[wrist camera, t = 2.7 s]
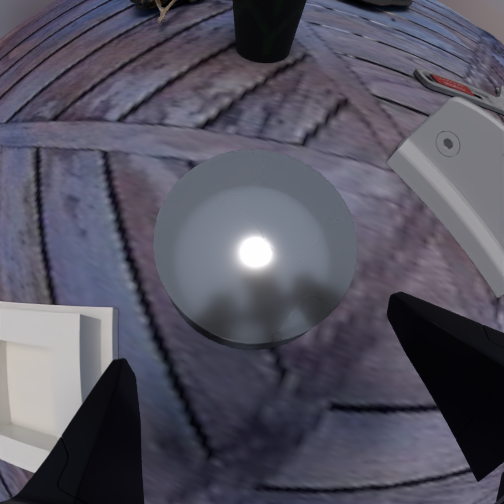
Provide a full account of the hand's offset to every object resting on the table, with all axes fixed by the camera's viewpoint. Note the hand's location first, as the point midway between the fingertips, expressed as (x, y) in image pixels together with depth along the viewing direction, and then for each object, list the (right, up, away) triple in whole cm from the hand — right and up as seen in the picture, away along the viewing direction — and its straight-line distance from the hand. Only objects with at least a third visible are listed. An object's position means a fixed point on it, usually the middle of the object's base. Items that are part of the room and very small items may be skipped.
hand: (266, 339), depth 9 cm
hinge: (+19, +7, +14) cm, 24 cm away
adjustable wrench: (+32, +24, +20) cm, 45 cm away
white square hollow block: (-15, -7, +7) cm, 18 cm away
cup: (+1, +24, +18) cm, 30 cm away
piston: (-1, -1, +10) cm, 10 cm away
